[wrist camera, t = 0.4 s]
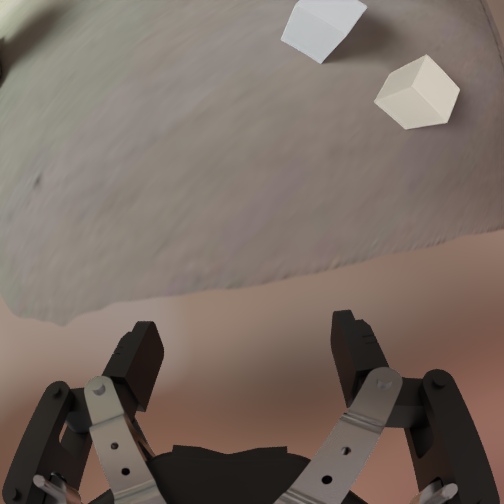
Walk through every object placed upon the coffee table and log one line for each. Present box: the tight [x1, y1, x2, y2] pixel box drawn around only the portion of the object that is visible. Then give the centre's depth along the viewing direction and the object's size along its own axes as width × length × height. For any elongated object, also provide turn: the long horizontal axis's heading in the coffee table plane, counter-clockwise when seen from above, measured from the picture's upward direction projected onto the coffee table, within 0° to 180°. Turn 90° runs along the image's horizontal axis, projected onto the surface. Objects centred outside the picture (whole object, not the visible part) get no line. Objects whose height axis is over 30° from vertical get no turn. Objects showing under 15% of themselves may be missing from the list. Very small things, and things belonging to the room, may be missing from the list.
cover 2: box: [374, 55, 460, 130], centre depth 29 cm, size 7×7×10 cm
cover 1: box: [281, 0, 367, 64], centre depth 26 cm, size 7×7×10 cm
